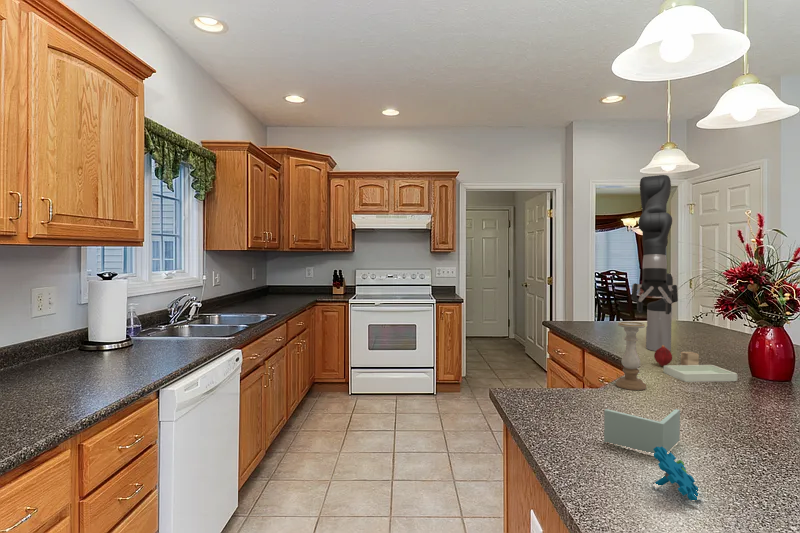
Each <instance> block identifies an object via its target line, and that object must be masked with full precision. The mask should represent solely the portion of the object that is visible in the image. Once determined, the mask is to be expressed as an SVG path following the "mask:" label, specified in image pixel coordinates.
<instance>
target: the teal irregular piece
mask: <svg viewBox="0 0 800 533" xmlns="http://www.w3.org/2000/svg"><path fill="white" fill-rule="evenodd" d="M653 450H654V451H655V452H656V453H654V457H653V458H654V459H656V460H657V461H658V463H657V465H658V467H659V469H660V470H661V471H662V472H665V473H664V475H665V476H664V477H663V478H662V477H661V478H660V479H658V480H656V481H654V482H655V483H656V484H658V485H663V486H664V485H666V484H667V483H670V484H671V485H673V484H677V486H679V487H677V490H678V492H679V493H680V494H681V495H682V496H683V497H684V496H687V498H688V499H689V500H690V499H691V500H697V497H696V496H698V493H697V491H698V488H699V487H698V486H697V485H696V484H694V483H695V482H696V481H695V478H694V477H693V476H692V475H691V474H689V473H688V472H687V468H686V467H685V463H684V462H683V461H682V460H681V459H678V460H677V461H675V460H676V459H677V457H676V456H675V455H674V454H673V453H672V451H671V452H670V453H669V454H667V450H666V449H665V448H664V447H662V446H661V447H655V448H654V449H653ZM696 490H697V491H696ZM694 494H695V495H696V496H695V495H694ZM691 500H690V501H691Z"/></svg>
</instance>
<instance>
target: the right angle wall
mask: <svg viewBox="0 0 800 533" xmlns="http://www.w3.org/2000/svg"><path fill="white" fill-rule="evenodd" d="M603 412H604V416H603V417H604V423H603V424H604V425H603V427H604V428H603V429H604V430H603V443H604V442H609V443H613V444H618V445H622V446H626V447H630V448H634V449H638V450H642V451H646V452H651V453H656V452H655V451H654V450H653V449H654V448H655V447H661V446H662V447H664V448H665V449H666V450H667V452H668V451H669V450H670V449H671V448H672V447H673V446H674V445H675V444H676V443H677V442H678V441H680V439H681V435H680V434H681V432H680V431H681V410H680V409H677V408H675V409H674V410H672V412H670V413H669V414H668V415H667V416H665V417H664V418H663V419H662V420H661V421H660V420H659V421H658V420H654V419H651V418H650V419H649V418H645V417H642V416H637V415H634V414H630V413H629V414H628V413H625V412H620V411H617V410H612V409H608V408H605V409H604V411H603Z"/></svg>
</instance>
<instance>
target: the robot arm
mask: <svg viewBox="0 0 800 533" xmlns="http://www.w3.org/2000/svg"><path fill="white" fill-rule="evenodd" d="M671 189H672V181H671V178H670V176H669V175H668V174H659V175H650V176H643V177H641V178H640V181H639V193H640V194H639V195H640V204H641V215H640V216H639V218H638V221H637V222H638V225H637V226H638V229H639V230H640V231H641V232H642V246H643V247H642V248H643V259H642V283H641V284H639V283H633V284H632V285H631V286H632V287H631V300H632V301H635V302H636V310H637V312H638V313H639V314H642V313H643V310H644V309H643V308H644V305H643V304H644V303H643V301H644V300H645V299H646V298H647V297H659V298H660V297H661V298H660V299H658V300H654V301H651V302H648V303H647V304H646V308H647V310H646V311H647V312H646V314H647V315H646V316H647V317H646V326H645V327H646V328H645V348H646V349H647V350H649V351H654V352H656V350H658V349H659V348H661V347H662V345H664V346H665V348H667V349H668V350H669V351H670V352H671V351H672V321H673V320H672V311H673V309H672V308H673V307H672V306H673V303H677V302H678V301H679V299H678V296H679V295H678V286H677V285H676V284H674V279H673V276H672V274H671V273H667V271H668V270H667V269H668V262H667V246H668V243H669V242H668V241H669V239H668V237H669V233H670V230H671V228H672V225H673V217H672V215H671V214H670V213H668V212H667V204H668V201H669V198H670V195H671V191H672V190H671ZM640 288H641V290H642V291H643V292H642V293H641V294H640V295H639V297H637V296H638V291H639V290H640Z"/></svg>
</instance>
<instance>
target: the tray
mask: <svg viewBox="0 0 800 533" xmlns="http://www.w3.org/2000/svg"><path fill="white" fill-rule="evenodd" d="M663 373H664V374H666V375H668V376H669V377H670V376H671V377H673V378H675V379H678V380H680V381H682V382H685V383H689V382H691V383H692V382H695V383H696V382H697V383H698V382H701V383H702V382H738V373H736V372H733V371H730V370H728V369H725V368H722V367H720V366H717V365H714V364H699V365H681V364H679V365H678V364H676V365H675V364H674V365H673V364H670V365H669V364H667V365H664V366H663Z"/></svg>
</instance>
